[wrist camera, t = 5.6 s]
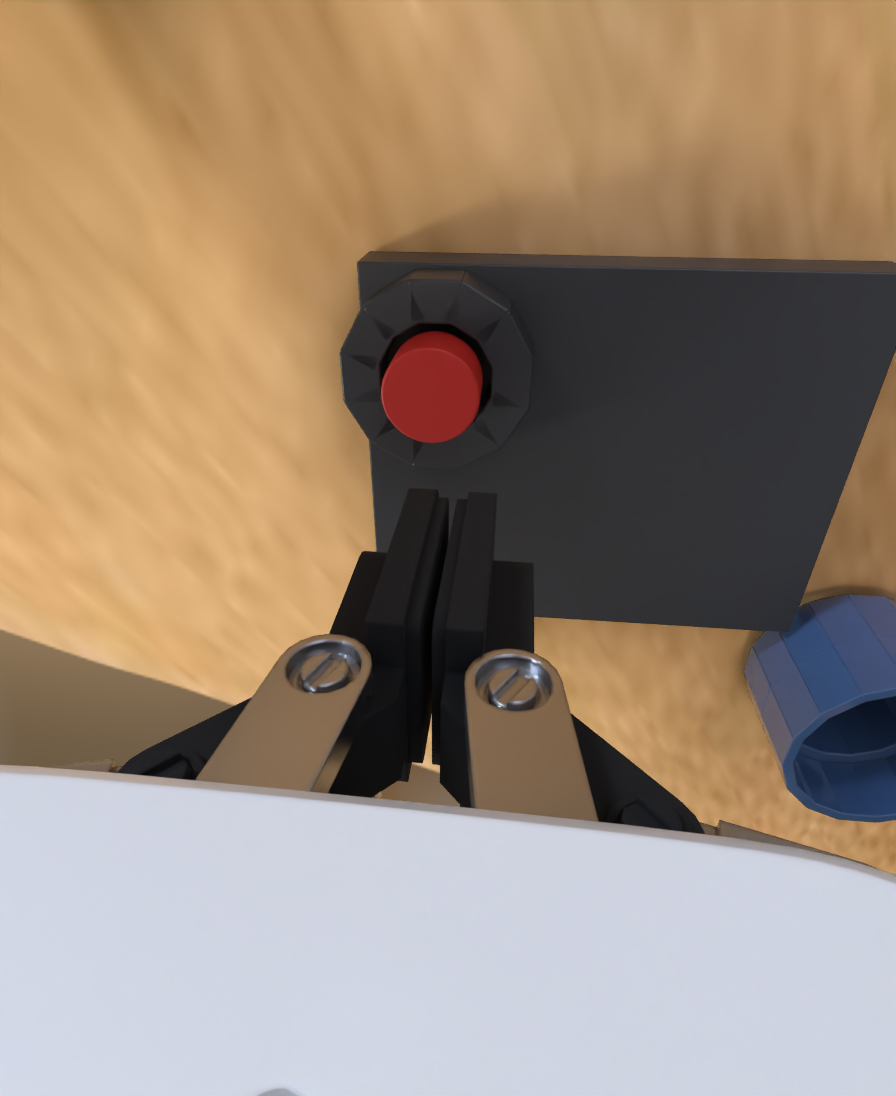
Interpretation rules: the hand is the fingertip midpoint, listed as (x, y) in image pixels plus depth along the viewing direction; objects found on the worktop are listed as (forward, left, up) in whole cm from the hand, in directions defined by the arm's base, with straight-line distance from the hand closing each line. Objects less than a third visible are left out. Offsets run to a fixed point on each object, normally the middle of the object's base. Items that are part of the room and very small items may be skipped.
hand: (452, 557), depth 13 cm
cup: (-15, +12, -12) cm, 23 cm away
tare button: (+1, -1, -9) cm, 9 cm away
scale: (-4, +3, -12) cm, 13 cm away
